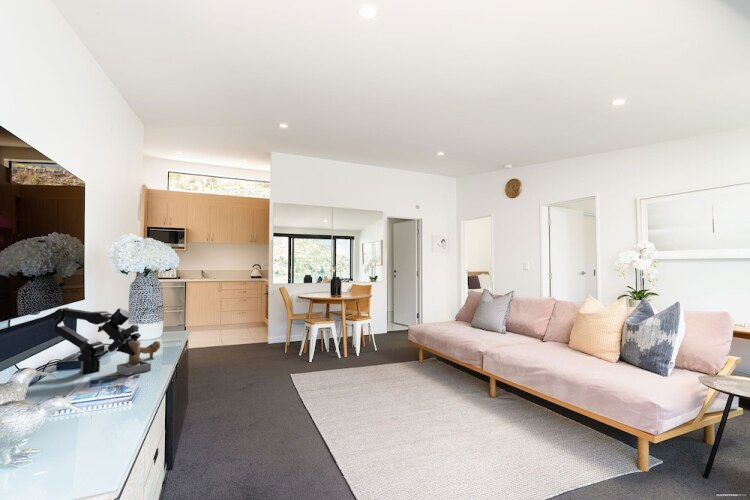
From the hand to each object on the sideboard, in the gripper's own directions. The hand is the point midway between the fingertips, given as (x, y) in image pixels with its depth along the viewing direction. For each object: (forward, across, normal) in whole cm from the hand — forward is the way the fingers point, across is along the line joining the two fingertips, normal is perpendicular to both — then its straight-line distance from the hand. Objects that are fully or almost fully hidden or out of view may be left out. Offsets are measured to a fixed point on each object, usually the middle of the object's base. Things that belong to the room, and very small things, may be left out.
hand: (137, 353), depth 178 cm
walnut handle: (+4, 0, +6) cm, 7 cm away
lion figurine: (0, +25, +12) cm, 28 cm away
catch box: (+5, 0, +7) cm, 9 cm away
